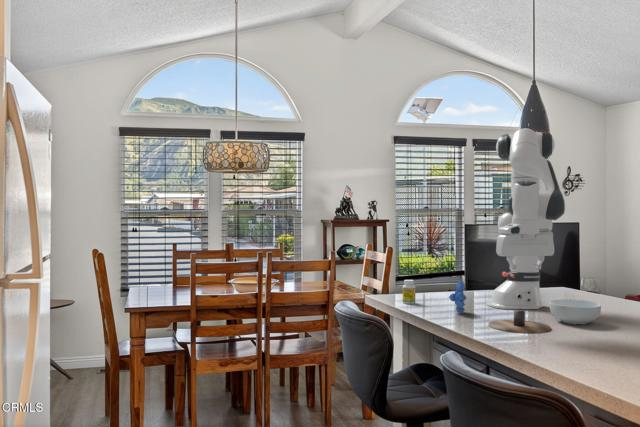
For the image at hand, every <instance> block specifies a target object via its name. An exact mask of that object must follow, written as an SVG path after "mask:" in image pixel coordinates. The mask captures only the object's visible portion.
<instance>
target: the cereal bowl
mask: <svg viewBox="0 0 640 427" xmlns="http://www.w3.org/2000/svg"><path fill="white" fill-rule="evenodd" d="M549 310H550V313H551V315H552V316H553V317H554V318H556V319H558V320H560V321H562V322H563V323H564V324H568V325H576V324H583V325H586V324H588V323H590V322H594V321H595V320H597V319H598V318H599V316H600V315H601V311H602V304H601V303H598V302H595V301H590V300H583V299H572V298H571V299H570V298H569V299H568V298H565V299H553V300H550V301H549Z"/></svg>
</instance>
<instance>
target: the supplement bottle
mask: <svg viewBox="0 0 640 427" xmlns="http://www.w3.org/2000/svg"><path fill="white" fill-rule="evenodd" d="M414 282H415V280H414V279H404V281H403V285H402V303H403V304H409V305H411V304H415V303H416V285H414Z"/></svg>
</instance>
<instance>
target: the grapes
mask: <svg viewBox="0 0 640 427" xmlns="http://www.w3.org/2000/svg"><path fill="white" fill-rule="evenodd" d="M465 286H466V285H465V284H464V283H463V282H462V281H458V282H457V283H456V284H455V289H456V290H455V291H454V293H452V292H451V294H450V295H449V296H448V298H449V301H452V302H454V304H455V305H456V308H455V310H456V312H457V313H458V314H459V315H460V314H463V312H465V310H466V309H465V306H466V304H465V301H466V299H467V296H466V295H465V294H464V291H465V289H466V288H465Z"/></svg>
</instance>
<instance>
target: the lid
mask: <svg viewBox="0 0 640 427" xmlns="http://www.w3.org/2000/svg"><path fill="white" fill-rule="evenodd" d="M488 327H489V328H491V329H493V330H497V331H501V332H505V333H515V334H517V333H518V334H543V332H544V333H548V332H550V331H551V330H552V329H551V325H549V324H546V323H543V322H538V321H532V320H526V310H525V309H513V319H498V320H493V321H489V322H488Z"/></svg>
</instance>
